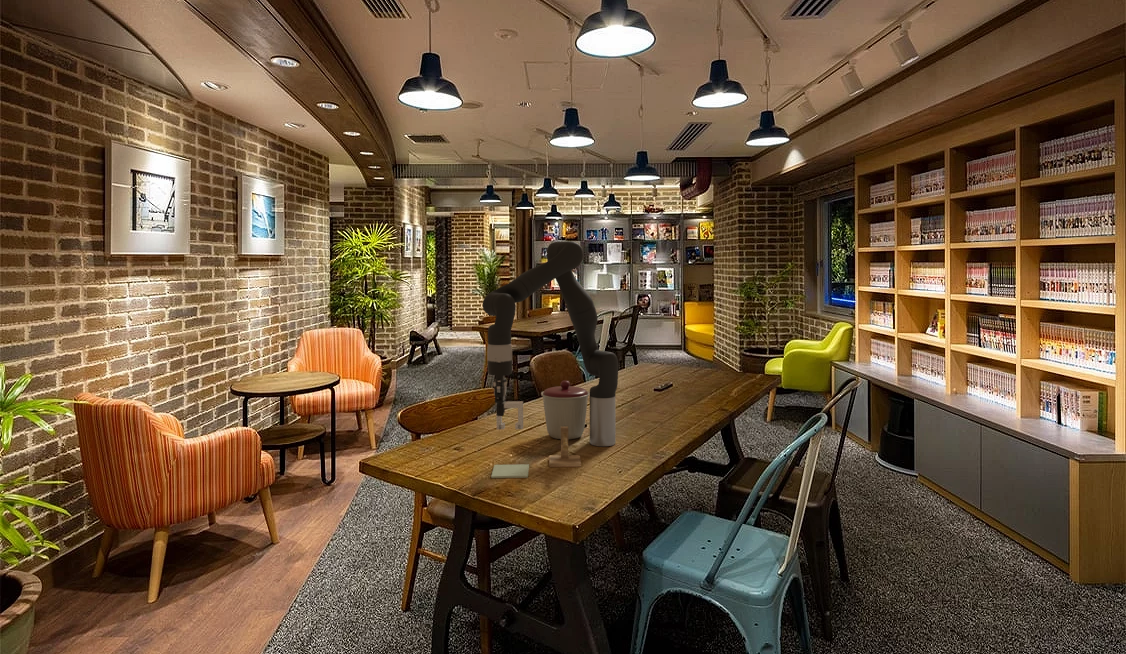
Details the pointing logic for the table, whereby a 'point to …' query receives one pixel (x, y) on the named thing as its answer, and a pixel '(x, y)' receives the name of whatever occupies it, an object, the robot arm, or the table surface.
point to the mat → (510, 471)
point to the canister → (565, 409)
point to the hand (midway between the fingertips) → (500, 414)
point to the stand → (564, 454)
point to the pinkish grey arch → (520, 414)
